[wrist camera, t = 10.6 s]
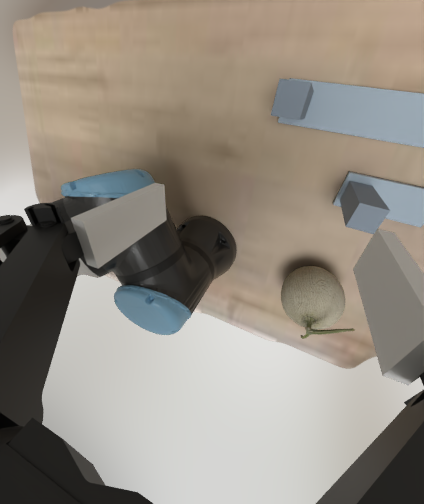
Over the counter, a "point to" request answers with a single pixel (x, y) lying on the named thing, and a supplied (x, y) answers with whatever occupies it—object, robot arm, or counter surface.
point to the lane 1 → (352, 110)
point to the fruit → (313, 299)
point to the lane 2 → (379, 202)
